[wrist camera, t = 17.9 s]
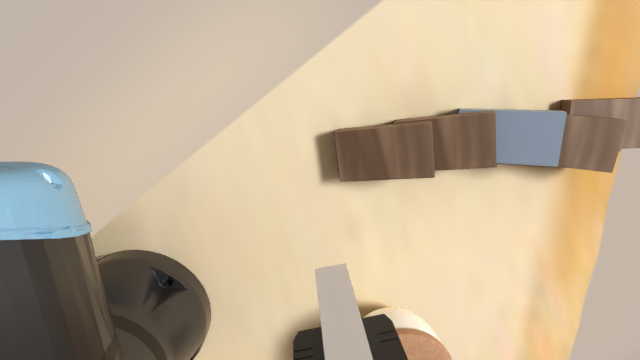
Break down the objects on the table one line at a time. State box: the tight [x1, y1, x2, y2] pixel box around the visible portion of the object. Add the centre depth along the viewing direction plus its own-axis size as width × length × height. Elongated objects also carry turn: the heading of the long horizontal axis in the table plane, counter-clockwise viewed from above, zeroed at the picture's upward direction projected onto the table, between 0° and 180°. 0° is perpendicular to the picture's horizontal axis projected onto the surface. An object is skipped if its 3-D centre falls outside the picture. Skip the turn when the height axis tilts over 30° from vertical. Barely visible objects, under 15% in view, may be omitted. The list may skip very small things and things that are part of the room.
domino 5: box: [558, 114, 628, 173], centre depth 37 cm, size 2×5×9 cm
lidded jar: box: [363, 307, 452, 360], centre depth 39 cm, size 11×11×9 cm
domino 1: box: [334, 120, 435, 182], centre depth 36 cm, size 2×5×9 cm
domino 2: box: [393, 110, 497, 170], centre depth 36 cm, size 2×5×9 cm
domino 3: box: [459, 109, 567, 167], centre depth 36 cm, size 2×5×9 cm
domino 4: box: [560, 97, 640, 149], centre depth 38 cm, size 2×5×9 cm
